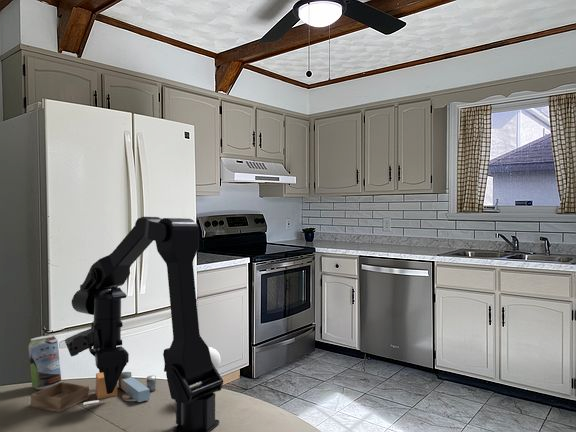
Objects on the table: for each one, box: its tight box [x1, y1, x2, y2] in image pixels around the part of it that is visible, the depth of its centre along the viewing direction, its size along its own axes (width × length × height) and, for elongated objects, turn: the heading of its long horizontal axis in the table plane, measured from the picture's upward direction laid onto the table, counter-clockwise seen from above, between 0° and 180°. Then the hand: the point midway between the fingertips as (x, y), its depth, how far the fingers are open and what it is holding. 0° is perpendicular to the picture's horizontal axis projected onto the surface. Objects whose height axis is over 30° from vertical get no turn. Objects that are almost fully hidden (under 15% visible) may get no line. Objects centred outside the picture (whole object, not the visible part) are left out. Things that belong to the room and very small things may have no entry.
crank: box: [117, 371, 151, 403], centre depth 100 cm, size 13×3×3 cm, turn 40°
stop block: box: [95, 372, 118, 400], centre depth 100 cm, size 4×4×4 cm
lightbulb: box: [199, 346, 222, 384], centre depth 98 cm, size 6×6×11 cm
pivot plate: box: [121, 392, 138, 402], centre depth 98 cm, size 6×6×1 cm
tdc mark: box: [83, 399, 100, 406], centre depth 94 cm, size 3×1×1 cm, turn 115°
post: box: [146, 375, 157, 393], centre depth 102 cm, size 2×2×3 cm
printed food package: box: [28, 334, 62, 390], centre depth 104 cm, size 6×7×12 cm
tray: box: [30, 381, 90, 413], centre depth 95 cm, size 8×8×3 cm
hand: (106, 386), depth 100 cm, fingers open, 9 cm apart
